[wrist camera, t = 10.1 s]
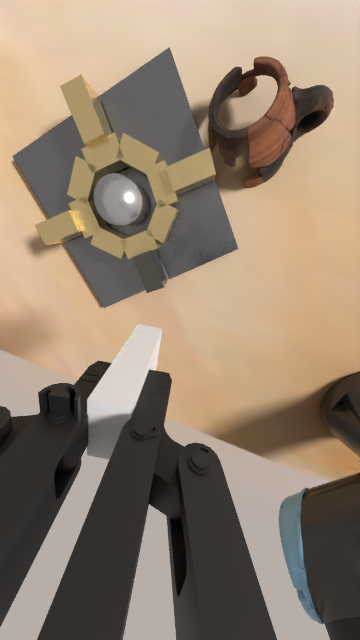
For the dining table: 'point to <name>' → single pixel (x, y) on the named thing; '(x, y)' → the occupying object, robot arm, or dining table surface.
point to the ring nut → (110, 157)
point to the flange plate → (134, 181)
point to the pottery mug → (267, 119)
